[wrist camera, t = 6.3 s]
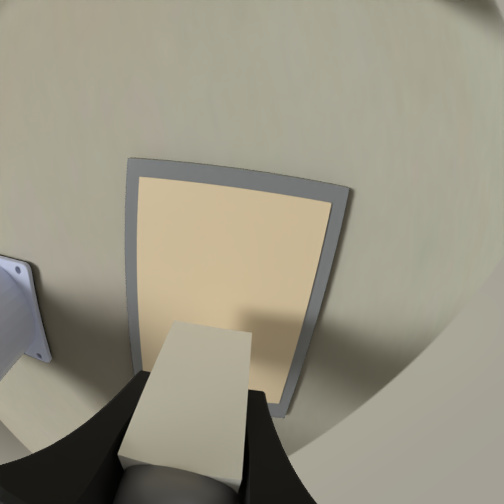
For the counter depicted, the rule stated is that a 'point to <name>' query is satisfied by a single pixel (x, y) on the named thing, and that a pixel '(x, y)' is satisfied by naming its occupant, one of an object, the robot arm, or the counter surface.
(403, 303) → the counter surface
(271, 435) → the robot arm
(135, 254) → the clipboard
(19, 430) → the counter surface
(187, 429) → the block with domed cap
